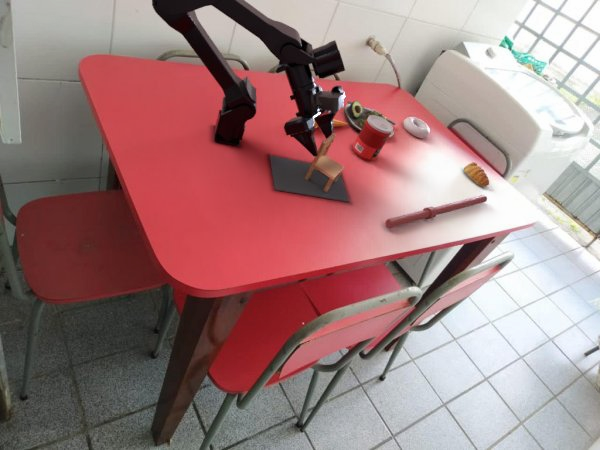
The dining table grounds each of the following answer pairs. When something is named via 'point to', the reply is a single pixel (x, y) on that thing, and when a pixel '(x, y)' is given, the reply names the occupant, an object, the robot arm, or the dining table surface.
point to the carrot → (335, 123)
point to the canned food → (372, 137)
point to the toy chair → (326, 163)
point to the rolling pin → (434, 211)
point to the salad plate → (360, 115)
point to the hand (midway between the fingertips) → (323, 149)
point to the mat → (304, 180)
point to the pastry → (476, 174)
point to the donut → (416, 127)
